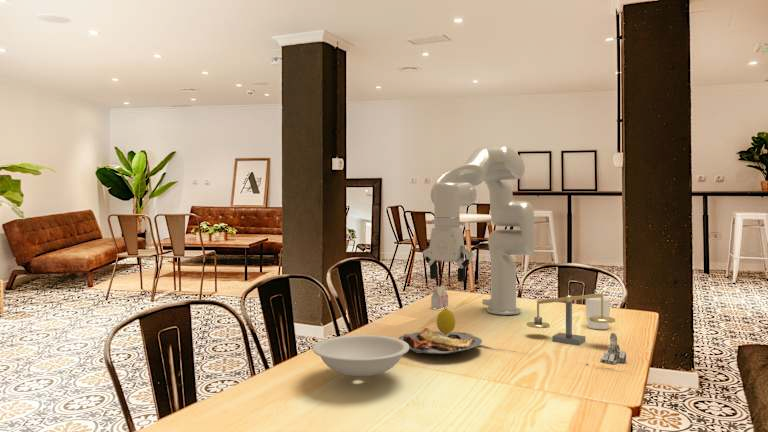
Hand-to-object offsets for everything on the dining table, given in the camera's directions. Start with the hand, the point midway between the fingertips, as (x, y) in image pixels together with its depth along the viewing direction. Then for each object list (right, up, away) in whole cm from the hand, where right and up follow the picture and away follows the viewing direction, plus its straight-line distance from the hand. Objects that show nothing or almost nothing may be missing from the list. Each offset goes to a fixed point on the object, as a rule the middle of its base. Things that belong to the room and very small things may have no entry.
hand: (447, 279), depth 160 cm
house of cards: (+43, -20, -21) cm, 52 cm away
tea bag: (+3, -19, +50) cm, 54 cm away
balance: (+37, -19, +2) cm, 42 cm away
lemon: (-1, -17, 0) cm, 17 cm away
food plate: (-3, -20, -3) cm, 20 cm away
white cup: (+54, -19, +21) cm, 61 cm away
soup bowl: (-25, -20, -28) cm, 43 cm away
